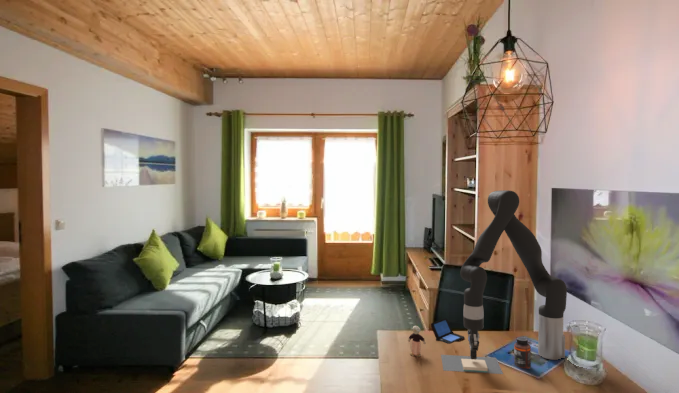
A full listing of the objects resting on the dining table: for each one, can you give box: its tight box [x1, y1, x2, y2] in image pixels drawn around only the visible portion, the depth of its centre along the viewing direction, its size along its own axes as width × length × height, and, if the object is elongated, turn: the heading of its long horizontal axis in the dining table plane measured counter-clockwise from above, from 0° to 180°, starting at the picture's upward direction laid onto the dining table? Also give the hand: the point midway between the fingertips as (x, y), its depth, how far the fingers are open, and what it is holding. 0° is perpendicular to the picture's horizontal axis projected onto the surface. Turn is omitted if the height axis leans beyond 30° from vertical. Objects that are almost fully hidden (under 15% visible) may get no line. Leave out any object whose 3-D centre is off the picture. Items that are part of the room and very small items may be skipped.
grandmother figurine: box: [407, 325, 426, 358], centre depth 176 cm, size 8×4×13 cm, turn 73°
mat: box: [440, 354, 504, 375], centre depth 166 cm, size 22×14×1 cm, turn 80°
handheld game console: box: [430, 317, 465, 345], centre depth 193 cm, size 12×11×7 cm
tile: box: [461, 359, 488, 372], centre depth 163 cm, size 9×2×7 cm
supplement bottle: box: [513, 336, 532, 370], centre depth 164 cm, size 6×6×11 cm
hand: (473, 358), depth 164 cm, fingers closed
